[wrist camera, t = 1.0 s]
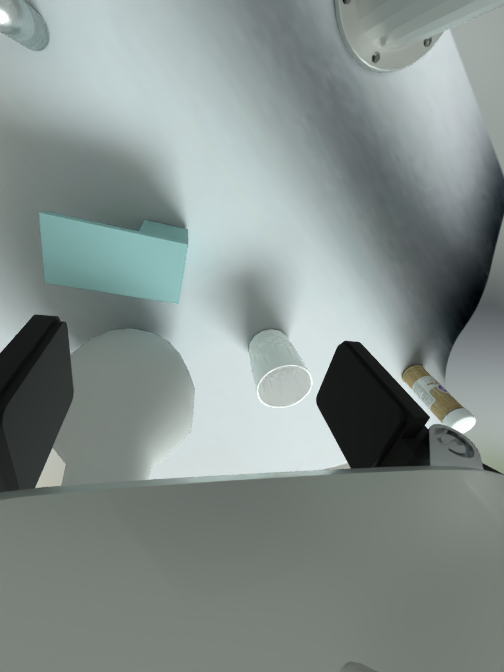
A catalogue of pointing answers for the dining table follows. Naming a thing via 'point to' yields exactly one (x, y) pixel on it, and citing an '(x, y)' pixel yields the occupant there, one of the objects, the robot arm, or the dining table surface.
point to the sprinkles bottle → (438, 399)
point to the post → (23, 24)
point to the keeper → (114, 257)
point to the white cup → (278, 370)
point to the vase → (124, 408)
